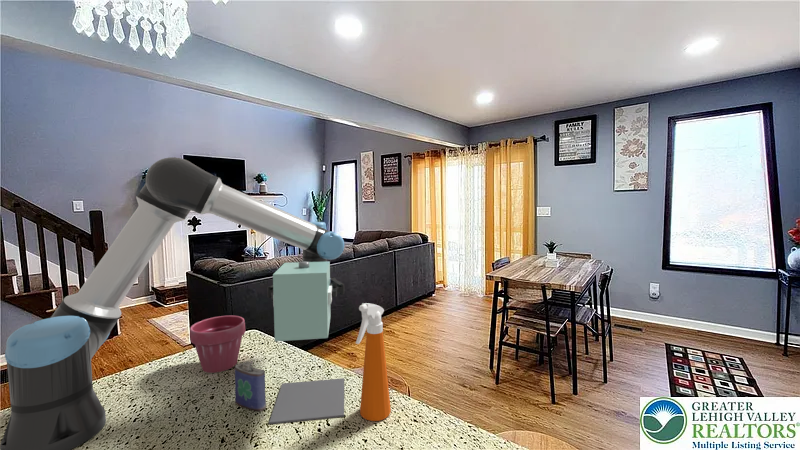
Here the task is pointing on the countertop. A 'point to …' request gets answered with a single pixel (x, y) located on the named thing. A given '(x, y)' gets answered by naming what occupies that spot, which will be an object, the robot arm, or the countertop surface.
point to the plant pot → (218, 342)
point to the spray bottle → (374, 366)
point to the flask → (250, 387)
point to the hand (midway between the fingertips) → (302, 299)
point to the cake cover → (301, 301)
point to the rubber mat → (309, 401)
